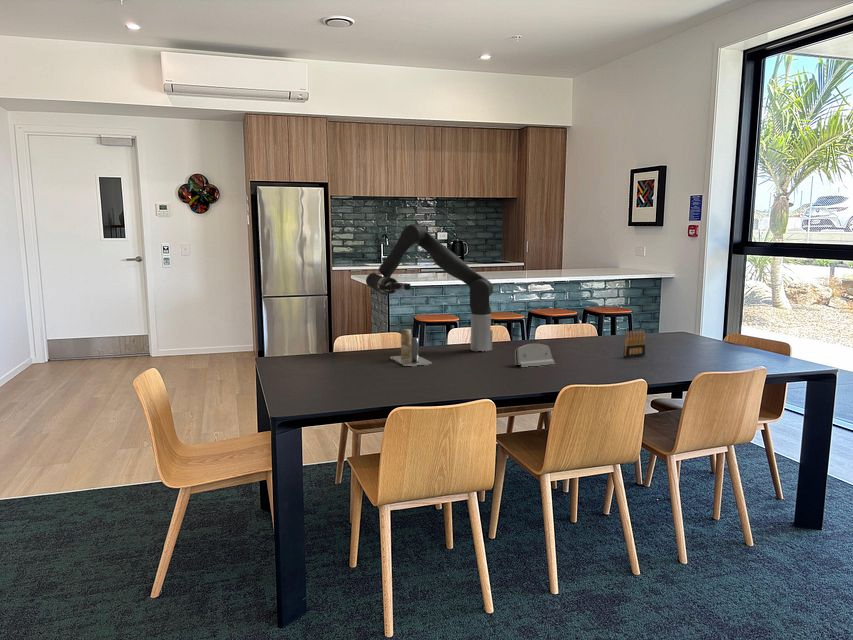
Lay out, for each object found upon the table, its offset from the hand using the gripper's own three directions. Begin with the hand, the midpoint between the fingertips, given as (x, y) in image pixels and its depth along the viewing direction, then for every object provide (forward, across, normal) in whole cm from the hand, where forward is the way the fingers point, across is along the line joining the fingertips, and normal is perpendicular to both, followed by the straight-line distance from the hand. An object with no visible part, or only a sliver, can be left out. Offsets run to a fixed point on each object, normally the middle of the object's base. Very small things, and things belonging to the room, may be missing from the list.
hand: (399, 288), depth 279 cm
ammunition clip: (+45, +95, +30) cm, 109 cm away
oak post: (+13, -2, +29) cm, 32 cm away
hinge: (+43, +43, +30) cm, 68 cm away
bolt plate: (+18, -2, +30) cm, 35 cm away
